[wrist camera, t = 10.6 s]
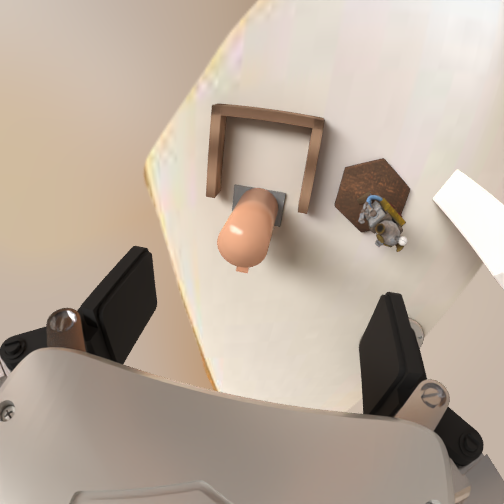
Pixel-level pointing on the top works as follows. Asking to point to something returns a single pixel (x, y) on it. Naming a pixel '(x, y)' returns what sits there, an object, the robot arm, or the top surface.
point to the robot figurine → (374, 201)
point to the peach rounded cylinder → (249, 229)
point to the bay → (303, 120)
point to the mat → (278, 195)
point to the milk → (476, 219)
